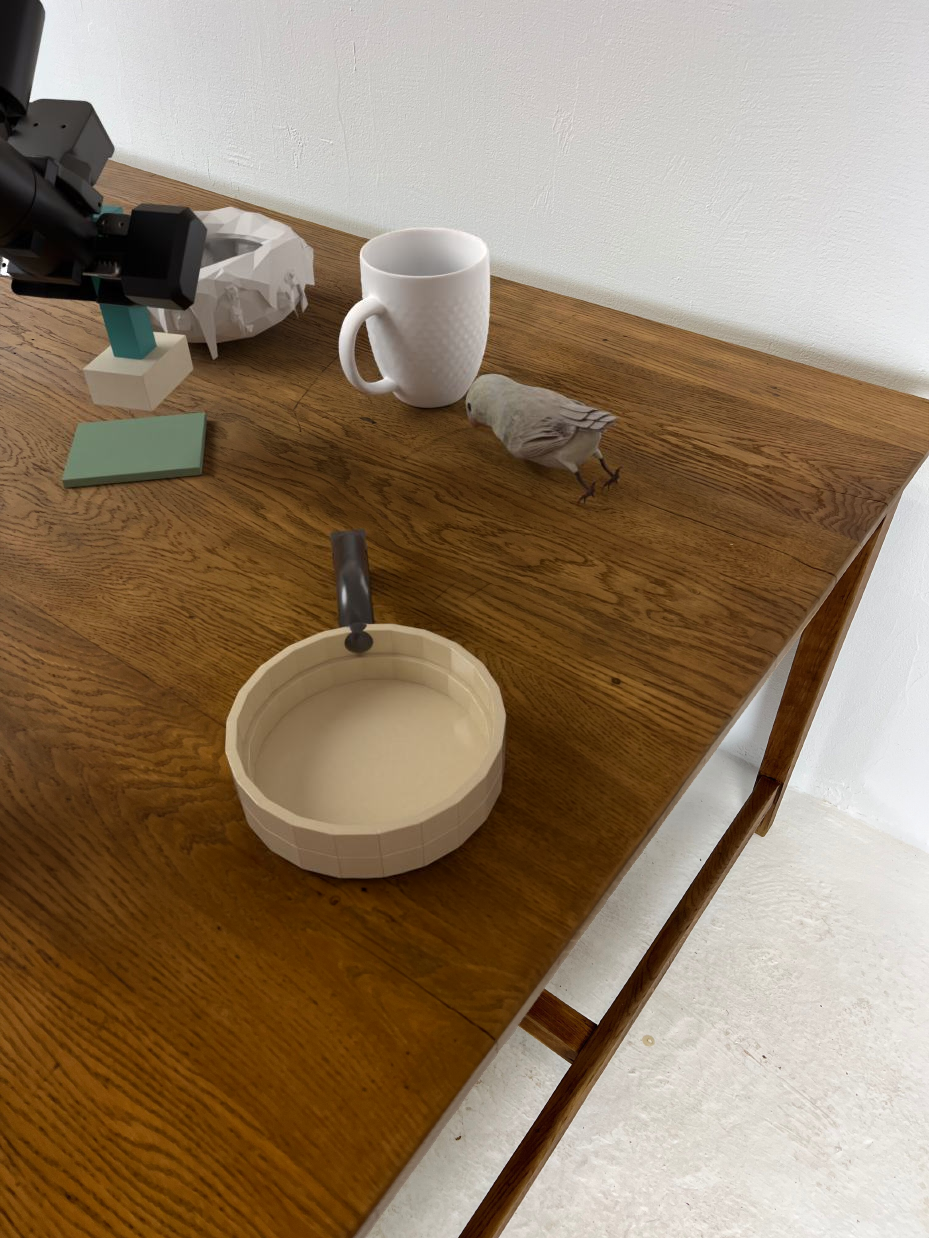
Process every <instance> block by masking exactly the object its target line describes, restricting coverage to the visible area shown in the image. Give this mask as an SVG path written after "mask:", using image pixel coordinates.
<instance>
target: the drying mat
mask: <svg viewBox="0 0 929 1238" xmlns="http://www.w3.org/2000/svg"><path fill="white" fill-rule="evenodd" d="M206 413H207V412H205V411H203V412H192V413H191V412H190V413H181V414H169V415H158V416H147V417H134V418H125V419H115V420H114V419H113V420H103V421H90V422H81V423H80V422H79V423H78V424H77V427H76V429H75V430H76V431H75V433H74V437H73V441H72V444H71V447H70V451H69V454H68V458H67V460H66V463H65V467H64V471H63V474H62V478H61V482H62V485H63V487H64V488H65V489H68V488H78V487H88V486H100V485H109V484H110V485H111V484H119V483H129V482H141V481H152V480H161V479H162V480H163V479H171V478H172V479H173V478H182V477H193V476H202V474H203V465H204V464H203V462H204V454H205V444H206V432H207V423H208V422H207V421H208V418H207V414H206Z"/></svg>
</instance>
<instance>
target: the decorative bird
mask: <svg viewBox="0 0 929 1238" xmlns="http://www.w3.org/2000/svg"><path fill="white" fill-rule="evenodd" d="M465 409H466V413H467V420H468V421H469V424H470V425H471V427H473V429H475V428H480V427H483V426H487V427H489V428H492V431H493V433H494V435H495V436H496V437H497V438H498V439H499V440H500V441H501V442H502V444H503V445H504V447H505V448H506V449H507V451H508V452H509V454H510V455H512V457H514V458H515V459H518V460H522V461H523V460H528V461H531V462H534V463H535V464H538V465H541V466H544V467H548V468H553V469H558V470H560V471H564V472H565V471H566V472H569V471H570V472H572V473H573V474H574V475H575V477H576V480H577V481H578V483H579V484H580V485H581V486H582V487H583V488H584V490H586V492H585V493H583V494H582V495H581V496H580V497H579V499H578V501H577V503H576V507H578V506H579V503H580V502H581V501H583V504H584V505H586V502H587V499H588V498H589V497H592V498H595V492H596V488H595V486H596V483H597V482H599V480H595V481H593V482H592V483H591V485H590V487H589V485H588V484H586V482H585V481H584V480H583V479H582V476H581V473H580V471H579V469H578V467H580V466H582V465H583V464H584V463H586V462H587V461H588V460H589V458H590V457H591V456H593V457H594V458H596V459H597V460H598V461H599V463H600V466H601V467H602V469H603V471H605V472H606V474H607V475H608V476H610V479H608V480H607V481H606V482H605V483H604V484H603V486H602V488H601V492H600V493H601V494H602V493H603V491H604V489H605V487H607V491H608V492H610V487H611V485H613V484H614V483H615V484H617V485H619V482H618V480H619V479H620V477H621V475H620V470H621V469H623V468H624V466H620V467H618V468H617V469H616V470H615V472H614V473H613V472H612V471H611V470H610V469H609V468H608V467H607V464H606V461H605V459H604V458H603V455H602V453H601V451H600V449H599V446H600V445H599V444H600V442H601V439H602V433H605V432H607V431H608V429H607V427H616V426H617V424H616V423H615V422H614V420H617V419H621V417H620V416H615V415H612V414H611V413H612V412H608V411H602V410H601V408H596V407H591V406H587V405H586V404H585V403H583V402H581V401H579V400H576V399H573V398H567V396H565V395H563V394H561V393H558V392H556V391H553V390H550V389H547V388H543V387H539V386H538V387H537V386H531V385H528V384H527V385H526V384H522V383H519V382H517V381H515V380H513V379H512V378H510V377H507V376H505V375H503V374H498V373H487V374H482V375H480V376H479V377H476V378H475V379H474V381H473V383H472V385H471V386H470V388H469V389H468V391H467V392H466V398H465ZM605 427H606V428H605Z"/></svg>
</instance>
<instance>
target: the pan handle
mask: <svg viewBox="0 0 929 1238" xmlns="http://www.w3.org/2000/svg"><path fill="white" fill-rule="evenodd" d="M330 543H331V544H330V546H331V547H330V548H331V556H332V563H333V570H334V578H335V579H334V580H335V590H336V602H337V614H338V628H342V627H347V629H349V630H350V631H352V632H351V633H350V634H349V635H348V636H347V637H346V639H345V642H344V645H345V647H346V649H347V650H348V651H350V652H352V653H357V654H359V653H364V652H366V651H368V650H369V649H371V647H372V646H373V638H372V637H371V635H369V634H368V633H367V632H364V631H363V630H364V629H365V628H366V627H367V624H376V622H375V621H376V620H375V614H374V605H373V597H372V591H371V589H372V582H371V572H370V563H369V554H368V545H367V537H366V530H365V529H364V528H362V529H361V528H359V529H351V530H341V531H332V532H330Z"/></svg>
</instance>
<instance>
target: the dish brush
mask: <svg viewBox="0 0 929 1238" xmlns="http://www.w3.org/2000/svg"><path fill="white" fill-rule="evenodd" d="M103 213H117V214H125V213H124V209H123V207H122V206H118V205H105V204H102V209H101V214H103ZM101 214H100V215H101ZM100 215H96V214H94V216H93V221H96V220H97V219H98V217H99V216H100ZM99 236H100V235H99ZM100 237H102V236H100ZM91 278H92V281H93V285H94V288H95V292H96V295H97V294H98V289H99V283H100V278H101V277H100V276H91ZM98 305H99V310H100V312H101V316H102V319H103V323H104V327H105V330H106V333H107V337H108V340H109V346H108V347H107V348H105V350H103V351H102V352H101V353H100V354H98V356H96V357H95V358H94V359H93V360H92V361H90V362H89V363H88V364H87V365H86V366H85V367H83V368H82V370H83V374H84V377H85V380H86V381H85V382H86V384H87V387H88V390H89V393H90V397H91V399H92V403H93V405H96V406H103V407H104V406H105V407H113V408H120V409H128V410H135V411H136V410H137V411H144V412H153V411H154V410H155V409H156V408H157V407H159V405H160V404H161V403H162V402H163V401H165V399H166V398H167V397H168V396H169V395H170V394H171V393H172V392H173V391H174V390H175V389H176V388H177V387H178V386H179V385H180V384H181V383H182V382H183V381H184V380H185V379H186V378H187V377H188V376H189V375H191V374H192V372H193V371H194V365H193V361H192V356H191V352H190V348H189V344H188V343H189V342H187V339H186V335H179V334H169V333H160V332H153V329H152V325H151V321H150V317H149V313H148V309H147V307H146V306H133V307H127V306H117V305H107V304H98Z"/></svg>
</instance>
